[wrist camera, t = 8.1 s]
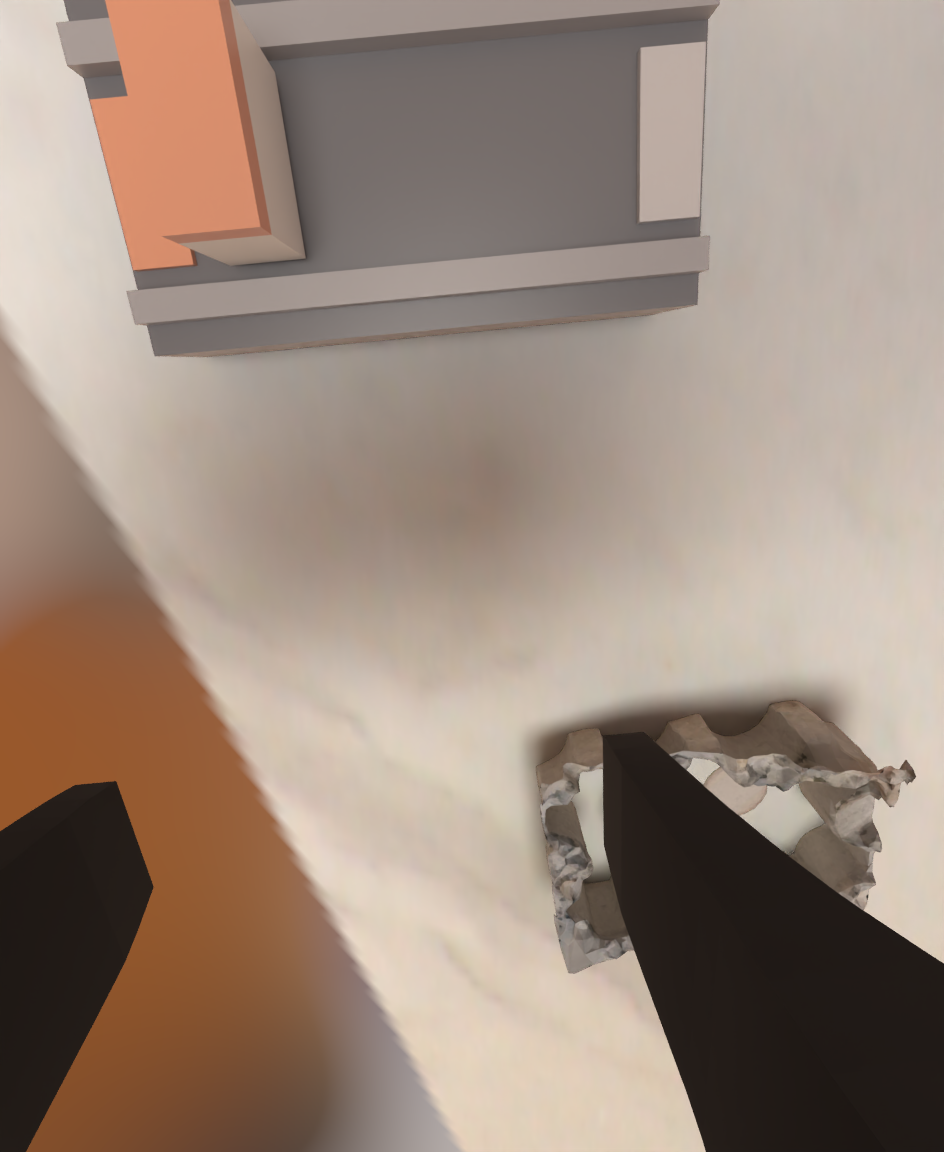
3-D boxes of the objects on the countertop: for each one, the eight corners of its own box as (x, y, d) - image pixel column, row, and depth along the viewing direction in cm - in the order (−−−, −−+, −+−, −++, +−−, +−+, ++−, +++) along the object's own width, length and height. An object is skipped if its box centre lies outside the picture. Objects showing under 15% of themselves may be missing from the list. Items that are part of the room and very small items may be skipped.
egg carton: (845, 684, 20) (941, 762, 16) (820, 860, 22) (897, 963, 19) (526, 715, 20) (546, 801, 16) (537, 888, 22) (556, 998, 18)
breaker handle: (274, 72, 11) (213, -30, 8) (305, 258, 12) (260, 226, 9) (192, 80, 11) (100, -19, 8) (229, 265, 12) (161, 236, 9)
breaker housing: (656, 23, 13) (723, -86, 10) (651, 314, 15) (707, 302, 12) (144, 71, 13) (44, -22, 10) (208, 356, 15) (143, 356, 12)
